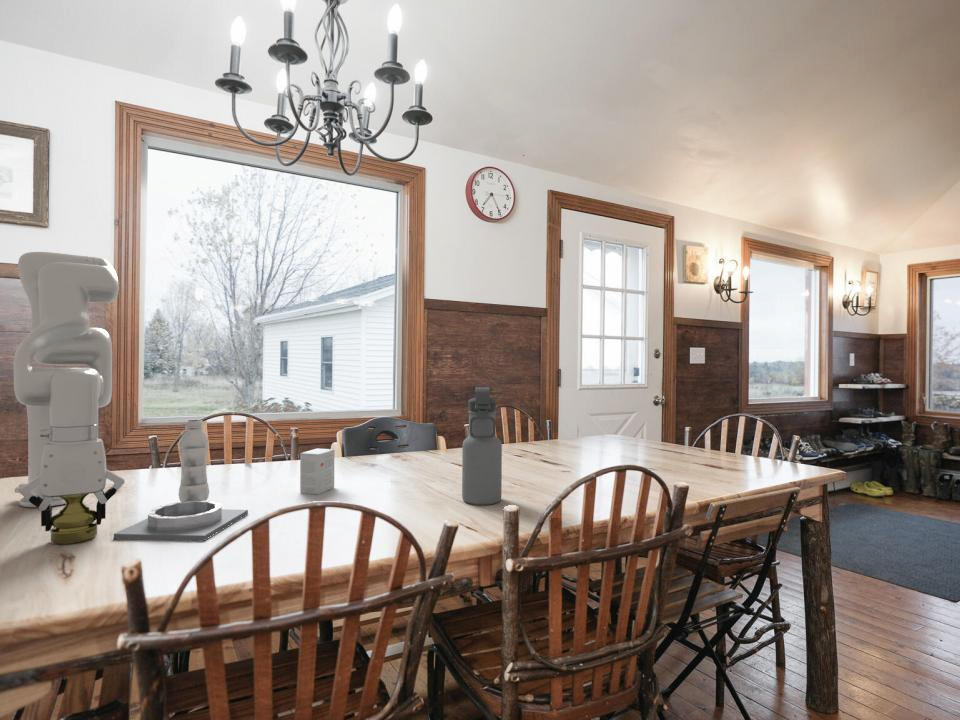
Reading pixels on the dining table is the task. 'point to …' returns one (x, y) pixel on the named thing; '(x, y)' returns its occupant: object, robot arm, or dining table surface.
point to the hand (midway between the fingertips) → (74, 525)
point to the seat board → (201, 533)
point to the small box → (316, 471)
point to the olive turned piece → (73, 521)
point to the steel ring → (165, 522)
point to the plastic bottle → (193, 463)
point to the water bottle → (482, 452)
